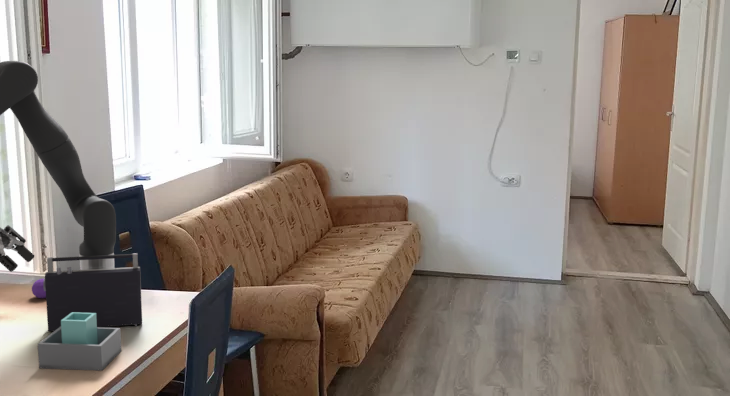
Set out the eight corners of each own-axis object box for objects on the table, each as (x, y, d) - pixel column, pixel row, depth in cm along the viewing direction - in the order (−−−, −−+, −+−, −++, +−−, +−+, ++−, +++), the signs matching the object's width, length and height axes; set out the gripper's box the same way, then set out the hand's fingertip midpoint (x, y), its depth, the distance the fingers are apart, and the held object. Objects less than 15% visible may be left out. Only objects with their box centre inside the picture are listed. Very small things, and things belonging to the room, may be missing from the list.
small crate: (63, 360, 174) (60, 320, 172) (74, 351, 180) (71, 312, 178) (87, 361, 174) (85, 321, 172) (98, 352, 180) (96, 313, 178)
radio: (142, 319, 205) (139, 250, 202) (142, 326, 200) (139, 255, 197) (48, 326, 199) (44, 255, 195) (45, 333, 194) (41, 260, 190)
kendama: (101, 284, 225) (30, 284, 218) (101, 301, 227) (30, 302, 220) (102, 275, 230) (33, 275, 224) (102, 292, 232) (33, 292, 226)
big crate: (39, 368, 172) (37, 343, 171) (62, 348, 183) (60, 326, 182) (102, 370, 171) (101, 346, 170) (121, 350, 183) (120, 328, 182)
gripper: (-34, 213, 170) (19, 261, 171) (-2, 201, 184) (46, 246, 185) (-55, 235, 171) (-2, 283, 173) (-22, 221, 185) (27, 266, 187)
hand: (23, 264), depth 179 cm, fingers open, 8 cm apart
